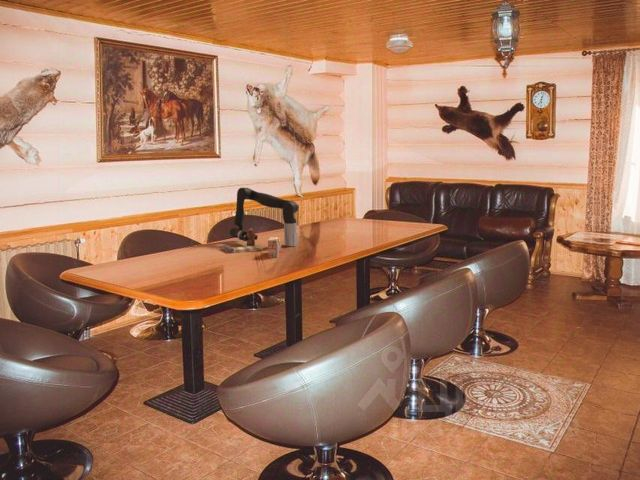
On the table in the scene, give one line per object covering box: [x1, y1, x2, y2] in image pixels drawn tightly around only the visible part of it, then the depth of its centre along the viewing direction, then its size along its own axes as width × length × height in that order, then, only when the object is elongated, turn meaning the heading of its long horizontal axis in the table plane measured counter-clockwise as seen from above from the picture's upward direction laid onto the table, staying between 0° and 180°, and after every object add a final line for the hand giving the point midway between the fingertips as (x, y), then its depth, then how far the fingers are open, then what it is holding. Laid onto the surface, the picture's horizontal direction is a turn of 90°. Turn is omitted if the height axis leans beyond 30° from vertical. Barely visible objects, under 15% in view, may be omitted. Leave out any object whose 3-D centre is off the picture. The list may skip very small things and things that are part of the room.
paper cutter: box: [221, 244, 264, 254], centre depth 443 cm, size 25×17×3 cm
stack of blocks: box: [267, 236, 282, 259], centre depth 424 cm, size 21×6×12 cm, turn 177°
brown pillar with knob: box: [246, 228, 256, 246], centre depth 451 cm, size 4×4×14 cm
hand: (251, 238), depth 449 cm, fingers open, 7 cm apart
